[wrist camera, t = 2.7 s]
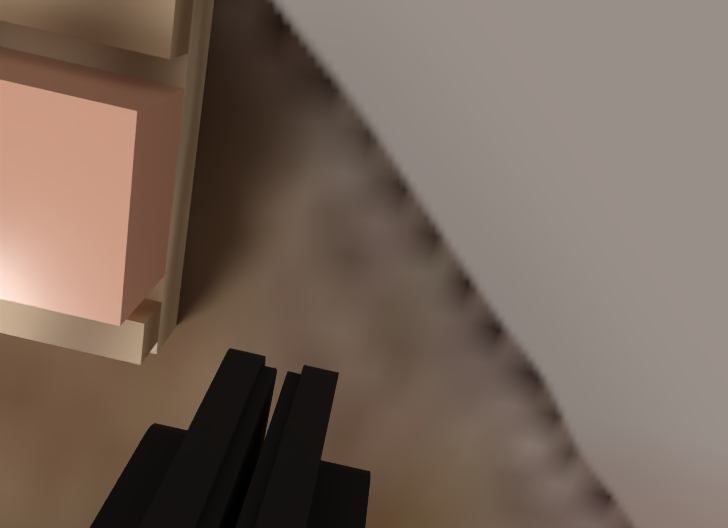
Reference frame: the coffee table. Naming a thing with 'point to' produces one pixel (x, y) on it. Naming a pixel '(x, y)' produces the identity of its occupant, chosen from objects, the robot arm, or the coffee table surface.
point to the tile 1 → (84, 185)
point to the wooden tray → (184, 70)
